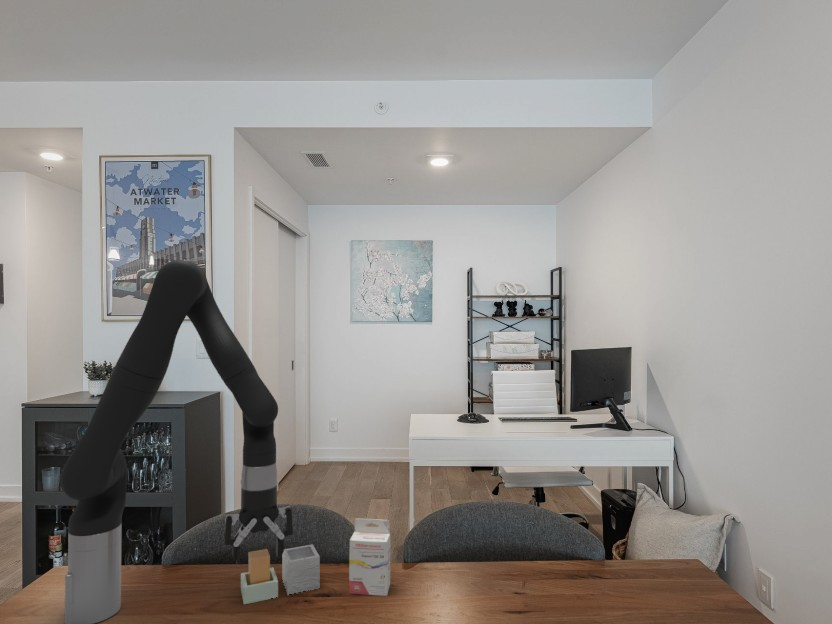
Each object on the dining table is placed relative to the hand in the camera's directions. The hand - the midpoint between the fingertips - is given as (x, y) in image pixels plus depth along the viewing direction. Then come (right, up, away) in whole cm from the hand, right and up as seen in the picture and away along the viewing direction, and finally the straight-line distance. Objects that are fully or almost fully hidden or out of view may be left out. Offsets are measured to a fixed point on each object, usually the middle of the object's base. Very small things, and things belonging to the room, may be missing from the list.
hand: (258, 558), depth 113 cm
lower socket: (0, -7, 0) cm, 7 cm away
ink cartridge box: (+24, -8, +1) cm, 25 cm away
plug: (0, -7, 0) cm, 7 cm away
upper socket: (+9, -7, +3) cm, 12 cm away
